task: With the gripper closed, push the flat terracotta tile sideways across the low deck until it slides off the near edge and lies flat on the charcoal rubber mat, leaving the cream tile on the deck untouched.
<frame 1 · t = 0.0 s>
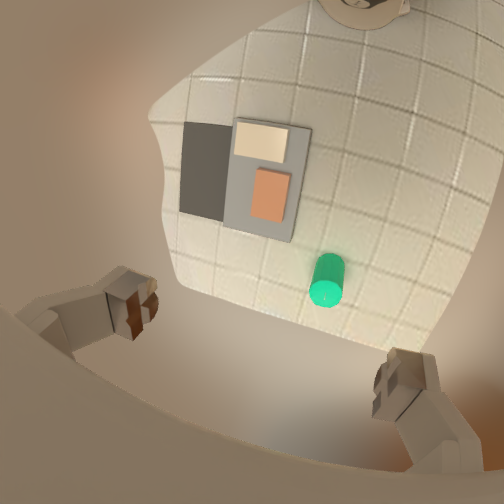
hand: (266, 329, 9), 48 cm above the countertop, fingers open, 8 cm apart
terracotta tile: (271, 193, 55), point 2 cm above the countertop, touching deck
deck: (266, 178, 57), on the countertop
cream tile: (263, 140, 51), point 2 cm above the countertop, touching deck
candle: (330, 265, 61), on the countertop
mat: (205, 171, 60), on the countertop
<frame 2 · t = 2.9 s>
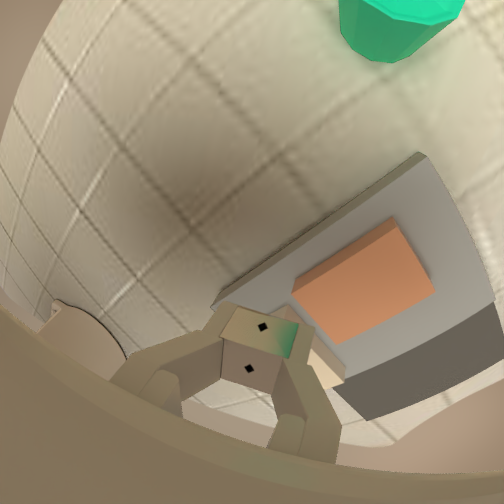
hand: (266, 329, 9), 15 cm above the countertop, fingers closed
terracotta tile: (364, 279, 22), point 2 cm above the countertop, touching deck
deck: (356, 291, 25), on the countertop
cream tile: (293, 350, 27), point 2 cm above the countertop, touching deck
candle: (379, 27, 15), on the countertop
mat: (422, 368, 27), on the countertop
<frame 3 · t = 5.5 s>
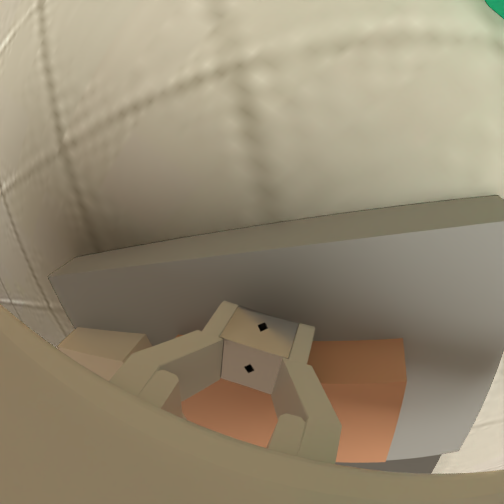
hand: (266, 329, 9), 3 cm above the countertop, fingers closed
terracotta tile: (290, 390, 12), point 2 cm above the countertop, touching deck
deck: (267, 357, 15), on the countertop
cream tile: (143, 388, 16), point 2 cm above the countertop, touching deck
mat: (315, 463, 19), on the countertop
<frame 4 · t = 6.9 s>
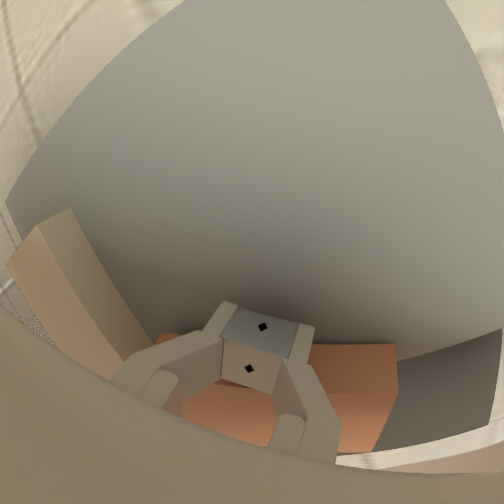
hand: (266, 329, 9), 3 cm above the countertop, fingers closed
terracotta tile: (277, 385, 12), point 2 cm above the countertop, tilted 9°, touching gripper
deck: (207, 218, 12), on the countertop
cream tile: (89, 304, 14), point 2 cm above the countertop, touching deck
mat: (332, 411, 16), on the countertop
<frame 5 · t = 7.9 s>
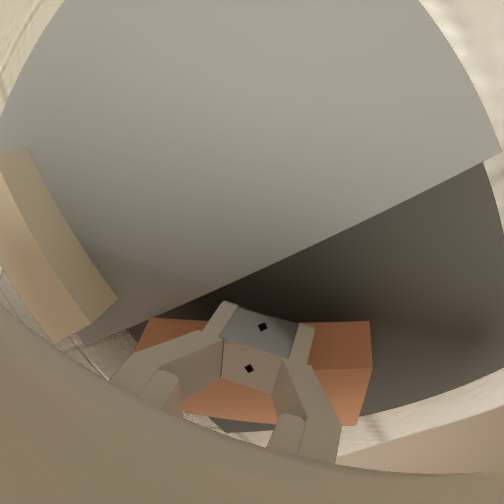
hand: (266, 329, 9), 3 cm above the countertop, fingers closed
terracotta tile: (262, 362, 13), point 1 cm above the countertop, tilted 14°, touching gripper, mat
deck: (139, 130, 11), on the countertop
cream tile: (46, 245, 13), point 2 cm above the countertop, touching deck
mat: (314, 354, 14), on the countertop
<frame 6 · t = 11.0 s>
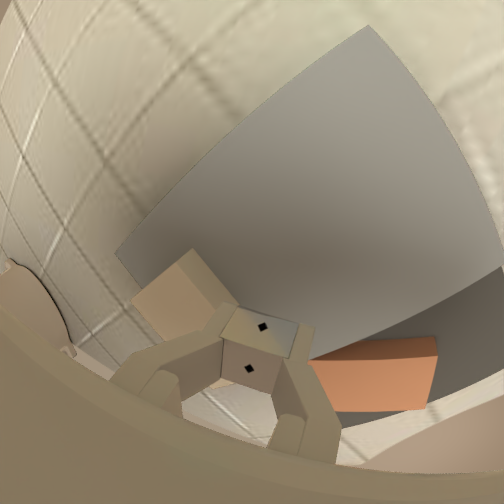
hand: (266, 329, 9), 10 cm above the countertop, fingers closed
terracotta tile: (373, 369, 20), resting on mat
deck: (293, 240, 19), on the countertop
cream tile: (208, 318, 20), point 2 cm above the countertop, touching deck
mat: (398, 367, 20), on the countertop
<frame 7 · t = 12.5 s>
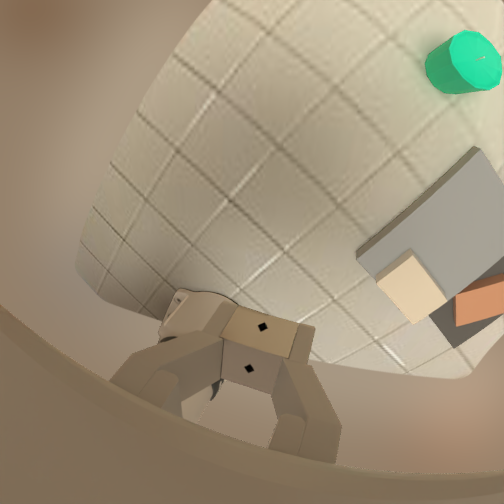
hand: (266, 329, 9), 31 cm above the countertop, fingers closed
terracotta tile: (478, 296, 35), resting on mat
deck: (445, 238, 34), on the countertop
cream tile: (411, 284, 36), point 2 cm above the countertop, touching deck
candle: (446, 71, 25), on the countertop
mat: (488, 293, 34), on the countertop
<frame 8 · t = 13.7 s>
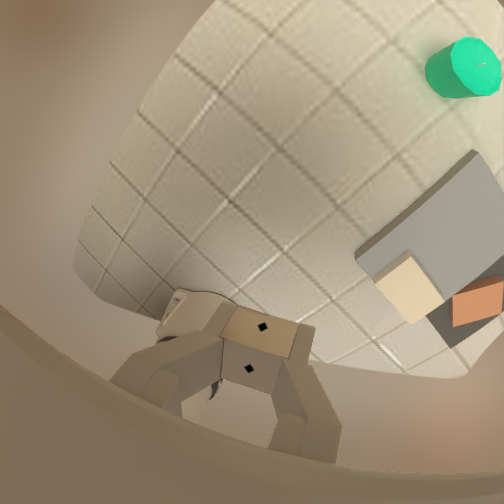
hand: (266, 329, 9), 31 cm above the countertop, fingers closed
terracotta tile: (475, 297, 36), resting on mat
deck: (443, 239, 35), on the countertop
cream tile: (409, 285, 37), point 2 cm above the countertop, touching deck
candle: (446, 75, 26), on the countertop
mat: (485, 294, 35), on the countertop
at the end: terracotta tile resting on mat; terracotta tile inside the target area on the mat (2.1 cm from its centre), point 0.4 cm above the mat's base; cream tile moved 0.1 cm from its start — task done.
